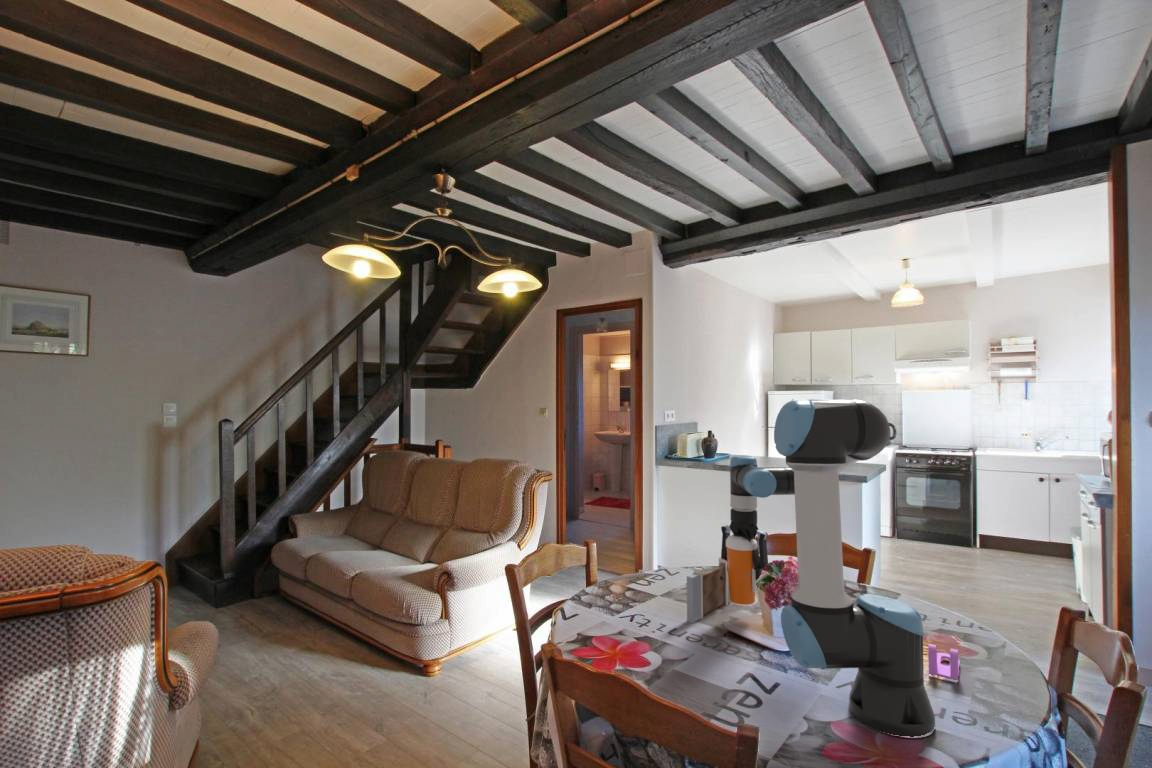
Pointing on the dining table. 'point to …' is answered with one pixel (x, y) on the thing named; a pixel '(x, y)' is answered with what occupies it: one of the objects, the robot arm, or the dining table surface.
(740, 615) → the dining table surface
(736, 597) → the shaker bottle
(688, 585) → the wall
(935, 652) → the bracket
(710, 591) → the door
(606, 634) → the dining table surface
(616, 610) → the dining table surface
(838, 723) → the dining table surface
